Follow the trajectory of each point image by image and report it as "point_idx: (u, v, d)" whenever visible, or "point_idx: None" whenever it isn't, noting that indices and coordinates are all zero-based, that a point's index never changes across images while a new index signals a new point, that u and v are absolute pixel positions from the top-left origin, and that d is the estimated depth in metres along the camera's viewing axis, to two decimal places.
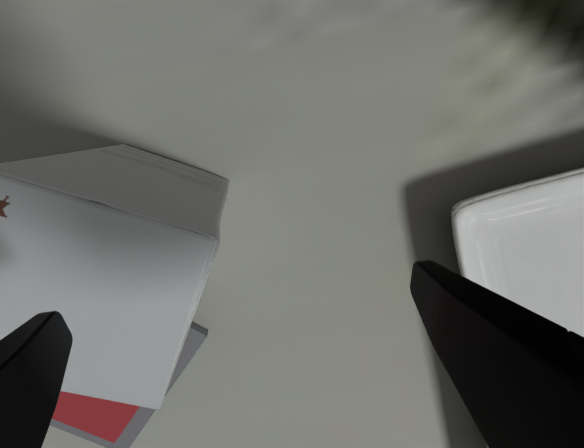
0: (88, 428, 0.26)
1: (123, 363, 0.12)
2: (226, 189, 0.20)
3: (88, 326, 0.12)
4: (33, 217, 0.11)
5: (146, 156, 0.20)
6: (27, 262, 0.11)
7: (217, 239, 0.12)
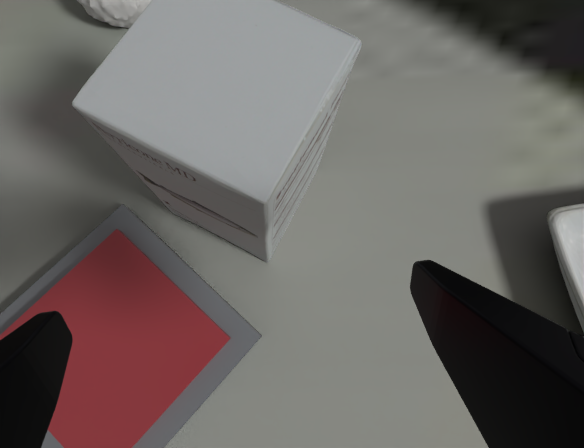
0: (74, 447, 0.18)
1: (244, 132, 0.11)
2: None
3: (224, 85, 0.11)
4: None
5: None
6: (193, 21, 0.12)
7: None
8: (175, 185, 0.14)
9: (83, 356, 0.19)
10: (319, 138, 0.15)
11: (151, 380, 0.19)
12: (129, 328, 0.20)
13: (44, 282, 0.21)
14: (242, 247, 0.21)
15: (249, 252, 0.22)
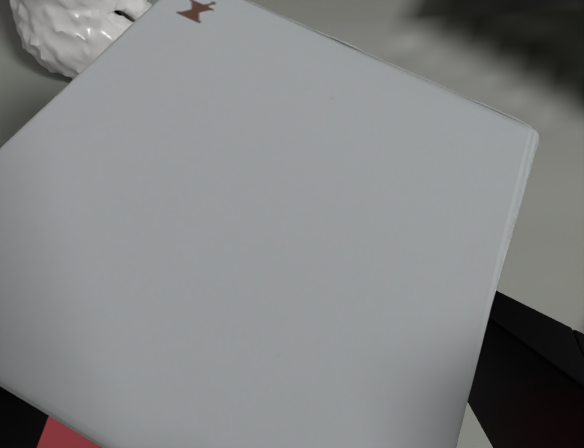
0: None
1: (329, 370, 0.04)
2: None
3: (270, 236, 0.05)
4: (242, 31, 0.06)
5: None
6: (197, 88, 0.06)
7: None
8: None
9: None
10: None
11: None
12: None
13: None
14: None
15: None
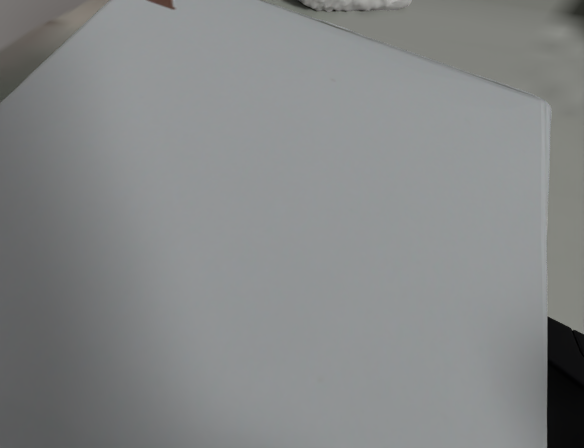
0: None
1: (384, 390, 0.03)
2: None
3: (289, 237, 0.04)
4: (223, 16, 0.06)
5: None
6: (180, 77, 0.05)
7: (546, 102, 0.06)
8: None
9: None
10: None
11: None
12: None
13: None
14: None
15: None
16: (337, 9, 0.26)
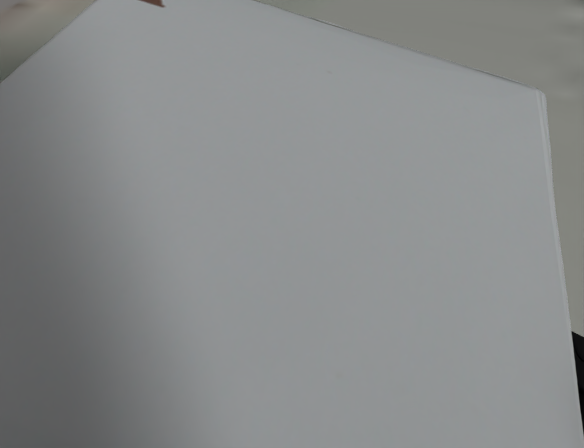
0: None
1: (408, 384, 0.03)
2: None
3: (294, 226, 0.04)
4: (214, 12, 0.05)
5: None
6: (173, 72, 0.05)
7: None
8: None
9: None
10: None
11: None
12: None
13: None
14: None
15: None
16: None
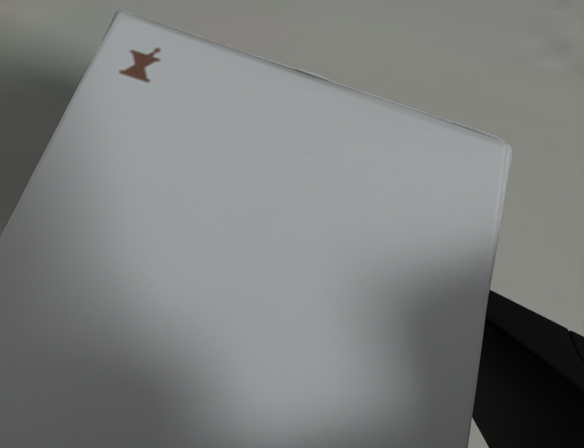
0: None
1: (352, 441, 0.05)
2: None
3: (276, 325, 0.05)
4: (198, 84, 0.06)
5: None
6: (167, 170, 0.05)
7: None
8: None
9: None
10: None
11: None
12: None
13: None
14: None
15: None
16: None
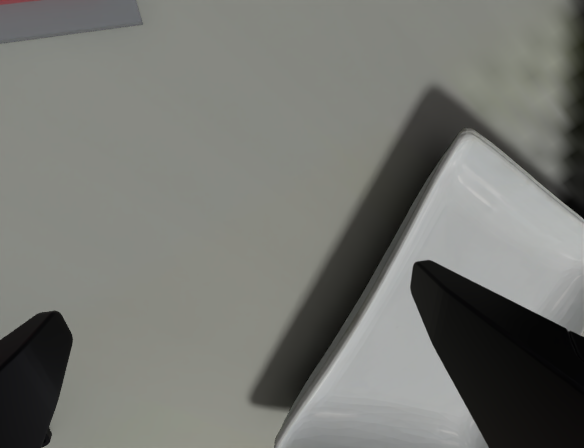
0: None
1: None
2: None
3: None
4: None
5: None
6: None
7: None
8: None
9: None
10: None
11: None
12: None
13: None
14: None
15: None
16: None
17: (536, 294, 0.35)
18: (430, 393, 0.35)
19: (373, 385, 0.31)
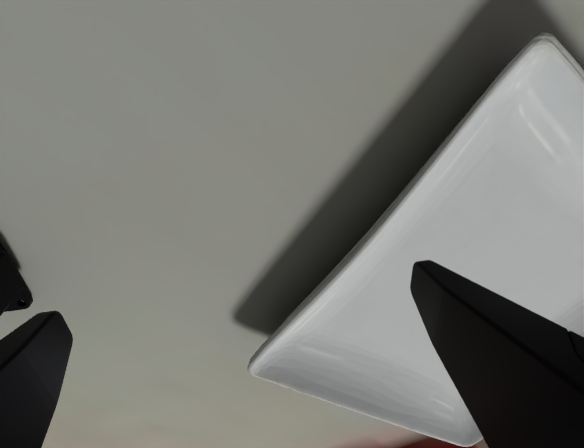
0: None
1: None
2: None
3: None
4: None
5: None
6: None
7: None
8: None
9: None
10: None
11: None
12: None
13: None
14: None
15: None
16: None
17: None
18: (431, 359, 0.32)
19: (368, 334, 0.29)
